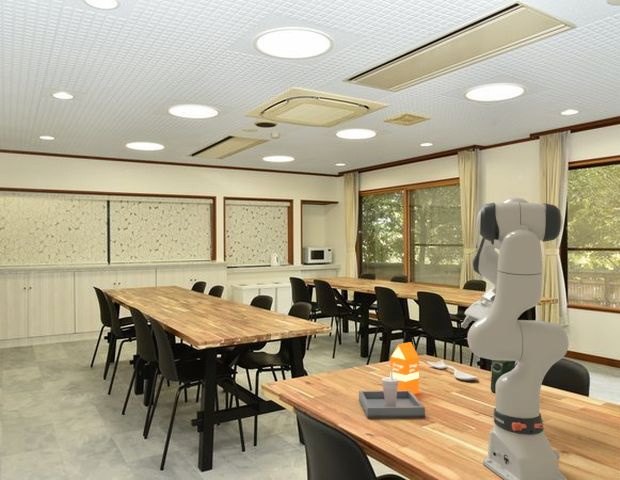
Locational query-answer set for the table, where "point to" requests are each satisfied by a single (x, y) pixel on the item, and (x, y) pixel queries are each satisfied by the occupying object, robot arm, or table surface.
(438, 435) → the table surface
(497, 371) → the coffee jar
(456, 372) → the spoon
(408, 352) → the orange juice
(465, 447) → the table surface
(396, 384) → the smoothie
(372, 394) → the tray
